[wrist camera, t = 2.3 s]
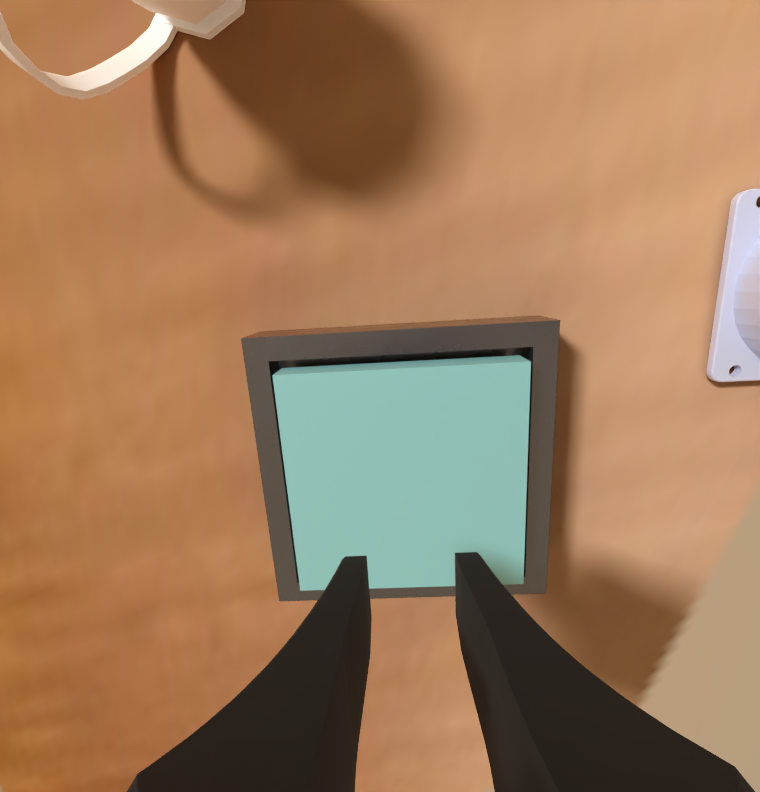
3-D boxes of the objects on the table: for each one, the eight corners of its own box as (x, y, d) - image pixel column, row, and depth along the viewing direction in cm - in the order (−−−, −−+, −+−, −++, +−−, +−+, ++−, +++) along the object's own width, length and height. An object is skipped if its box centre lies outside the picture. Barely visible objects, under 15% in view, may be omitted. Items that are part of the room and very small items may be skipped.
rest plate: (519, 355, 17) (531, 361, 16) (513, 562, 20) (523, 584, 18) (282, 368, 18) (272, 375, 16) (306, 568, 20) (300, 590, 19)
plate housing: (538, 315, 19) (559, 320, 16) (529, 559, 22) (546, 593, 20) (260, 331, 19) (241, 338, 17) (291, 567, 23) (279, 601, 20)
